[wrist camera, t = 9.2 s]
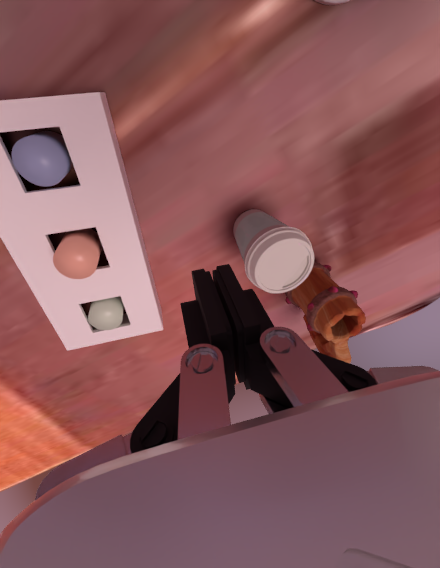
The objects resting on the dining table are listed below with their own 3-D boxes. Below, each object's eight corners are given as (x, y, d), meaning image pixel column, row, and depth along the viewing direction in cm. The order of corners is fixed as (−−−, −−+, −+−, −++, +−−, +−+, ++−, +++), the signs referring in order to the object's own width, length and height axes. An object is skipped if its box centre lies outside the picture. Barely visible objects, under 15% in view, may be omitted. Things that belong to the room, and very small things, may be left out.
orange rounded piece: (57, 229, 33) (45, 248, 29) (95, 223, 33) (89, 241, 29) (71, 261, 35) (62, 282, 31) (106, 255, 36) (102, 275, 32)
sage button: (88, 288, 40) (83, 309, 36) (119, 282, 41) (117, 302, 37) (98, 310, 43) (94, 333, 39) (127, 304, 43) (126, 326, 39)
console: (-44, 105, 27) (-77, 107, 23) (105, 92, 29) (99, 92, 25) (74, 327, 44) (67, 350, 40) (161, 309, 46) (163, 329, 42)
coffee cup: (237, 261, 44) (264, 308, 35) (214, 218, 39) (238, 258, 30) (284, 236, 44) (325, 275, 34) (267, 188, 39) (309, 219, 29)
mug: (276, 257, 46) (324, 315, 34) (321, 245, 46) (384, 297, 34) (279, 320, 54) (318, 384, 42) (317, 308, 55) (366, 368, 43)
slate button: (21, 133, 28) (1, 139, 24) (66, 128, 29) (54, 133, 25) (40, 177, 31) (25, 189, 27) (81, 172, 32) (72, 183, 28)
